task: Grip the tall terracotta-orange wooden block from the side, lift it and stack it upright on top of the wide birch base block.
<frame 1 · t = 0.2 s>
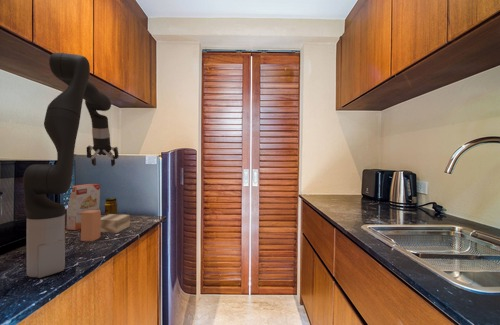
hand: (103, 165, 129), 31 cm above the worktop, tool tilted 20°, fingers open, 8 cm apart
birch base block: (113, 229, 120), on the worktop
condiment: (112, 220, 135), on the worktop
orange block: (90, 238, 105), on the worktop
cracker box: (83, 226, 122), on the worktop
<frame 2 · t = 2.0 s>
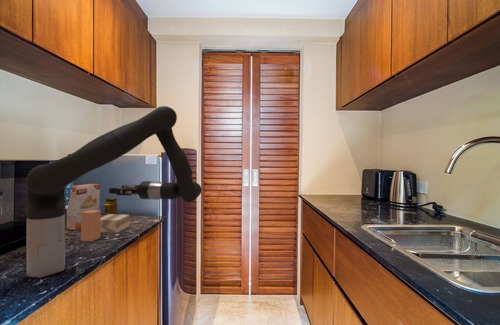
hand: (116, 189, 103), 22 cm above the worktop, tool horizontal, fingers open, 8 cm apart
nothing on the worktop moved.
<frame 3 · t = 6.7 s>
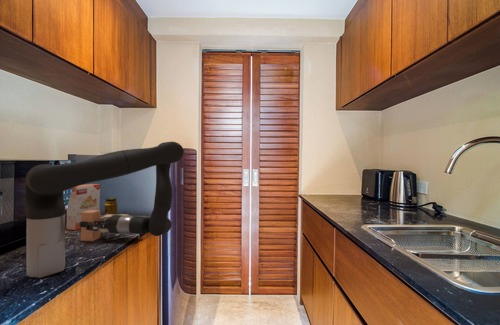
hand: (85, 222, 105), 7 cm above the worktop, tool horizontal, fingers closed on orange block, 5 cm apart
orange block: (90, 238, 105), on the worktop, touching gripper
everything else where it was.
when the fingers open (14 cm above the worktop, at t = 12.0 s): orange block drops 2 cm, point 6 cm above the worktop.
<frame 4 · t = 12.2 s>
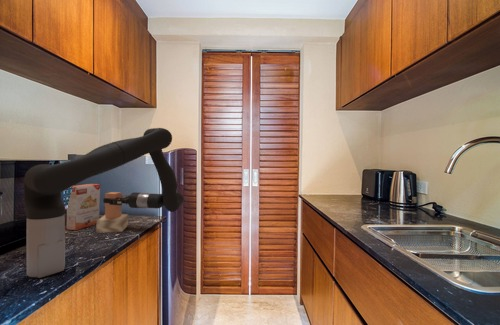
hand: (109, 199, 119), 14 cm above the worktop, tool horizontal, fingers open, 7 cm apart
orange block: (113, 217, 119), point 6 cm above the worktop
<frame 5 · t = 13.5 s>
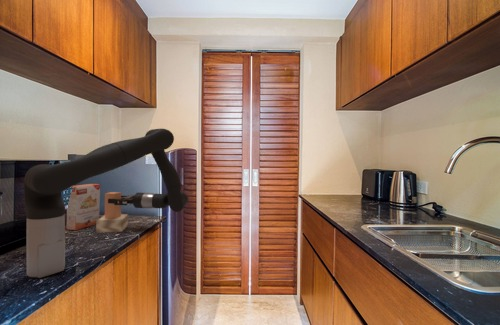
hand: (114, 199, 119), 15 cm above the worktop, tool horizontal, fingers open, 8 cm apart
nothing on the worktop moved.
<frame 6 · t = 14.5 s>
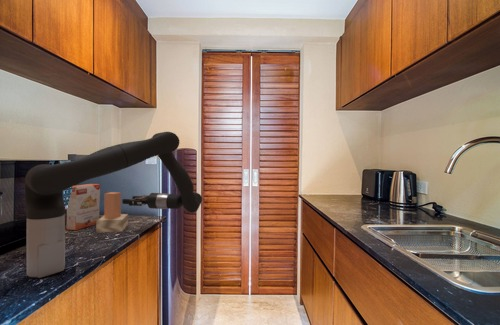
hand: (127, 199, 119), 15 cm above the worktop, tool horizontal, fingers open, 8 cm apart
birch base block: (112, 229, 120), on the worktop, touching orange block
orange block: (112, 217, 119), point 6 cm above the worktop, touching birch base block
everything else where it was.
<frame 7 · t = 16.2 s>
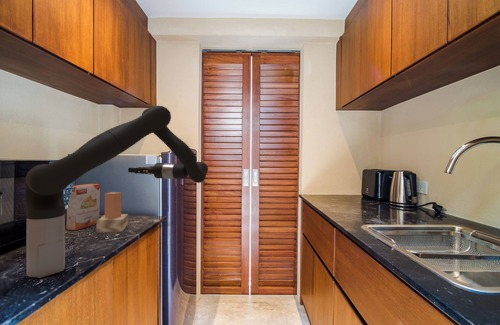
hand: (133, 169, 118), 29 cm above the worktop, tool horizontal, fingers open, 8 cm apart
birch base block: (113, 229, 120), on the worktop
orange block: (113, 217, 120), point 6 cm above the worktop
everything else where it was.
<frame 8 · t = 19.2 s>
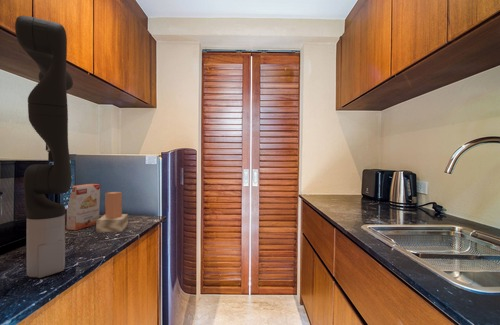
hand: (55, 162, 97), 33 cm above the worktop, tool pointing down, fingers open, 8 cm apart
nothing on the worktop moved.
at the end: orange block 0.4 cm off-centre on the birch base block, point 6.0 cm above the birch base block's base; orange block tilted 1°; the gripper is holding nothing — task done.
